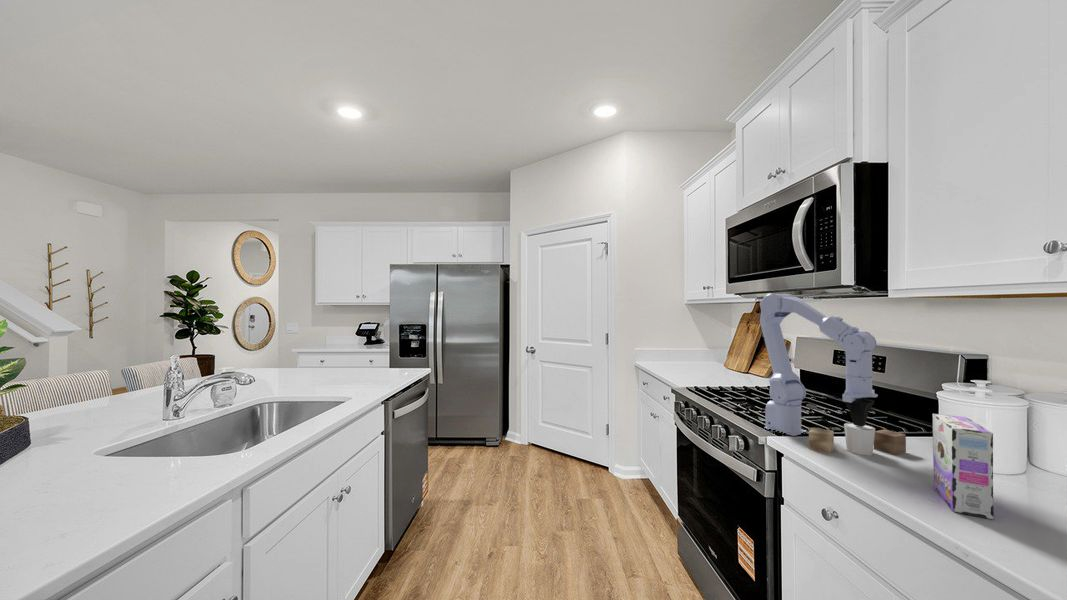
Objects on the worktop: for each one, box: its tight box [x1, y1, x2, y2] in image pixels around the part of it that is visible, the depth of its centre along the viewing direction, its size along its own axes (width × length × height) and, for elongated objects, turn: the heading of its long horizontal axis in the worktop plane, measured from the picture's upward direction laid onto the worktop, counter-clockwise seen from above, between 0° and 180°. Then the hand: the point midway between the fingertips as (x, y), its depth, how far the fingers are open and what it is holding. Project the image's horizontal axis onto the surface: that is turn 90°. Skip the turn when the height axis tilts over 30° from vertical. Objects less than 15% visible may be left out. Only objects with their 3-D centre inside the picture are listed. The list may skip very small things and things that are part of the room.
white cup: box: [843, 422, 876, 456], centre depth 114 cm, size 7×7×7 cm
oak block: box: [808, 427, 835, 454], centre depth 117 cm, size 5×5×5 cm
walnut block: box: [873, 429, 907, 456], centre depth 115 cm, size 5×5×5 cm
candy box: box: [931, 413, 995, 520], centre depth 85 cm, size 14×6×16 cm, turn 148°
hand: (859, 425), depth 114 cm, fingers closed
